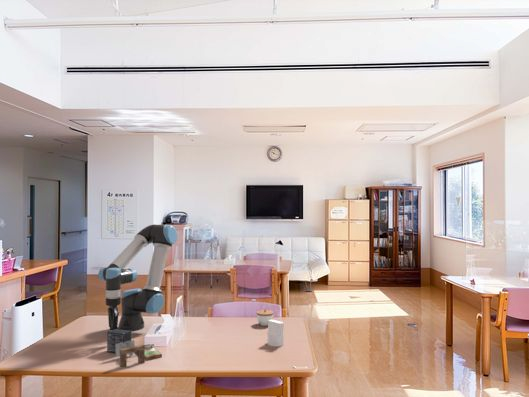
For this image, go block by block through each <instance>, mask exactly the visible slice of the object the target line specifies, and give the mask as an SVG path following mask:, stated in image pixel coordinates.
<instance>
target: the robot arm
mask: <svg viewBox="0 0 529 397" xmlns="http://www.w3.org/2000/svg"><path fill="white" fill-rule="evenodd" d="M177 241H178V231H177V229H176V228H175V226H173V225H171V224H149V225H148V226H145V227H144V228H142V229H141V230H140V231H138V233H136V234H135V235H134V239H133V240H132V241H131V242H130V243H129V244H128V245H127V246H126V247H125V248H124V249H123V250H122V251H121V253H120V254H119V255H117V257H116V258H115V259H114V260H113V261H112V262H111V263H110V264H109V265H108V266H107V267H102V268H100V269H99V270H98V272H97V273H98V278H99V280H100V281H103V282H105V292H104V294H105V297H106V298H105V306H108V308H107V312H108V313H107V315H108V316H107V317H108V327H109V331H111V330H114V329H119V330H128V331H131V332H132V331H138V330H143V329H144V328H145V320H144V318H143V314H142V313H145V314H157V313H159V312H160V311H161V310H162V309H163V306H164V303H165V299H164V295H163V294H162V293H163V292H162V288H161V285H162V281H163V276H164V272H165V268H166V262H167V256H168V254H169V253H168V252H169V250H170V249H172V246H173V245H174V244H175V243H176V242H177ZM149 244H152V246H153V247H154V248H153V252H152V258H151V262H150V266H149V269H148V274H147V279H146V283H145V286H144V287H143V288H130V289H126V290H124V291H122V290H121V289H122V285H124V284H128V283H133V282H135V281H136V280H137V279H138V272H137V270H136V269H134V268H127V266H128V264H130V263H131V262H132V260H133V259H135V257H136V256H137V255H138V254H139V253H140V252H141V251H142V249H143V248H146V247H148V245H149ZM126 268H127V269H126ZM121 291H122V292H121ZM120 305H121V316H120V319H119V314H120V312H118V311H119V308H118V306H120Z"/></svg>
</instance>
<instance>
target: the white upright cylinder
mask: <svg viewBox="0 0 529 397" xmlns="http://www.w3.org/2000/svg"><path fill="white" fill-rule="evenodd" d="M267 328H268V329H267V345H268V346H270V347H282V346H284V345H285V332H284V330H285V329H284V322H283V321H279V320H276V319H273V320H268V327H267Z"/></svg>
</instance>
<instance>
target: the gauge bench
mask: <svg viewBox="0 0 529 397" xmlns="http://www.w3.org/2000/svg"><path fill="white" fill-rule="evenodd" d="M145 345H151V344H150V343H147V344H140V345H136V346H134V347H129V348H124V349H120V356H119V367H120V368H121V369H122V368H126V367H127V363H128V360H127V359H128V358H127V355H129V354H128V353H133V352H135V353H137V363H138V364H139V365H140V364H145V362H146V361H150V360H155V359H160V358H162V357H163V354H162V353H161V352H160V351H159V350H157V349H156V348H155V347H154V346H152V348H150V347H145ZM133 354H134V353H133Z"/></svg>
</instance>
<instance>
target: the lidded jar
mask: <svg viewBox="0 0 529 397" xmlns="http://www.w3.org/2000/svg"><path fill="white" fill-rule="evenodd" d="M274 315H275V313H274V311H273V310H270V309H266V308H265V309H261V310H257V311H256V319H257V320H256V321H257V322H258V324H259V325H260V326H265V327H267V326H268V320H274Z"/></svg>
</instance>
